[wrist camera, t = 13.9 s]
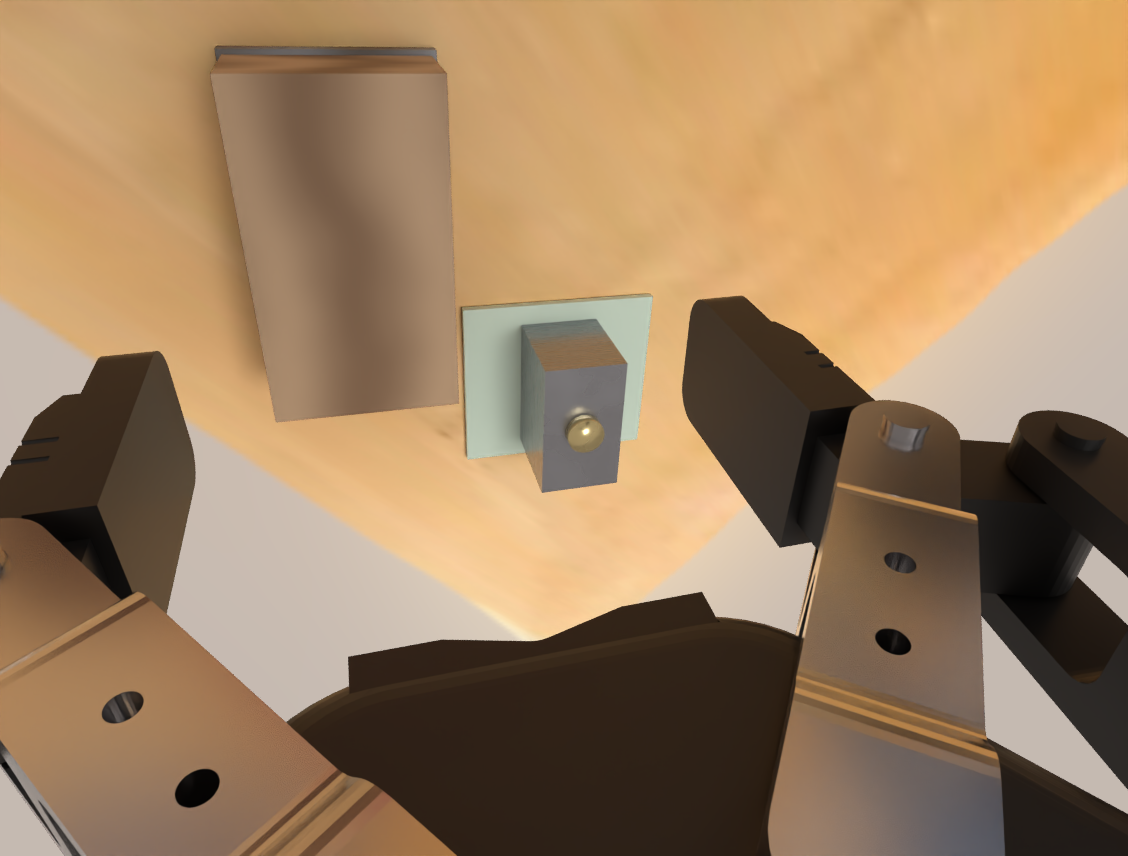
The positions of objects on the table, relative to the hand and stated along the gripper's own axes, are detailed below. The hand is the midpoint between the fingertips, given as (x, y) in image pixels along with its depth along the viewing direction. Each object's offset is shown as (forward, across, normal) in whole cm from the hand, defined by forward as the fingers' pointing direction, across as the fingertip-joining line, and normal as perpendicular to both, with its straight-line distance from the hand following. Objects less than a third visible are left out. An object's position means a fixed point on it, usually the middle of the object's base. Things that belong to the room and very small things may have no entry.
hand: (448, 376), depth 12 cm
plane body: (+25, +2, +6) cm, 26 cm away
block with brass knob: (+25, -8, +15) cm, 30 cm away
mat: (+25, -8, +15) cm, 30 cm away
